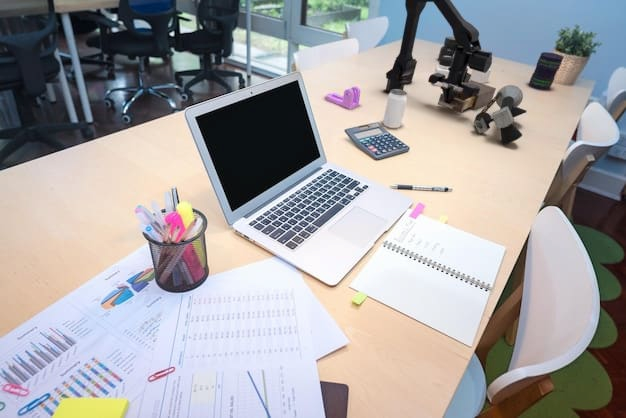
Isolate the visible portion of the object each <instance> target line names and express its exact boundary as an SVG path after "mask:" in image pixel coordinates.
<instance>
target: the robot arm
mask: <svg viewBox="0 0 626 418" xmlns="http://www.w3.org/2000/svg"><path fill="white" fill-rule="evenodd" d="M427 3H433V4H434V5H435V6H436V8H437V9H438V11H439V12H440V13H441V15H442V16H443V18H444V19H445V21H446V22H447V24H448V25H449V26H450V28H451V30H452V35H453V36H452V37H454V38H455V40H456V42H457V44H455V45H454V46H453V47H451V48H450V50H453V51H455V53H454V57H453V60H452V64H451V67H449V68H448V70H449V74H448V78H446V77H445V75H443V74H440V73H435V74H434V73H432V74H430V75H429V77H428V80H427V82H428V83H431V84H432V85H433V84H435V83H437V82H441V83H443V84H442V86H439V87H440V89H441V90H442V93H443V94H444V99H445V103H448V104H450V103H451V102H452V101H453V99H454V98H455V97H456V95H457V94H458V93H461V92H463V94H465V95H467V96H474V95H477V94H479V91H480V88H479V86H477V85H474V84H468V85H464V84H462V83H465V82H466V83H468V82H469V81H470V78H471V73H469V72H468V71H469V69H470V70H472V69H473V70H476V71H480V72H483V73H486V72H487V71H488V70H489V69H490V68H491V66H492V64H493V52H491V51H486V50H482V46H481V42H480V38H479V37H480V32H479V30H478V28H476V27H475V26H474V25H473V24H472V23H470V22H469V21H467V20H466V19H464V17H463V16H462V15H461V13H460V12H459V10H458V9H457V7H456V6H455V5H454V3H453V1H452V0H405V3H404V6H405V10H406V17H405V23H404V29H403V34H402V39H401V44H400V50H399V52H398V55H397V56H396V57H397V58H396V57H395V59H394V62H393V66H392V68H391V69H389V70H388V71H387V72H386V73H385V78H386V79H387V81H386V87H385V89H383V92H384V93H387V94H389V93H390V91H391V90H393V89H399V90H403V91H404V89H405V84H404V80H405V79H403V78H407V76H408V75H409V74H410V73H412V71H413V69H415V70H416V68H414V65H415V62H416V61H417V58H414V56H413V51H414V46H415V41H416V36H417V32H418V31H417V30H418V26H419V22H420V18H421V17H420V16H421V14H422V12H423V11H424V9H425V8H426V5H427ZM468 67H469V68H468ZM453 88H454V89H453Z"/></svg>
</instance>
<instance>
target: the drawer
mask: <svg viewBox="0 0 626 418" xmlns="http://www.w3.org/2000/svg"><path fill="white" fill-rule="evenodd" d="M475 100H476V96H467V95H465V94H463V92H461V93H458V94H457V95H456V97H455V98H454V99H453V101H452V102H451V103H450V104H448V103H445V99H444V94H443V92H442V93H440V95H439V99H438V102H437V105H439V106H442V107H444V108H446V109H449V110H452V111H455V112H457V113H460V114H461V113H463V111H464V110H466V109H470V108H469V107H471V106H473V105H474V102H475Z"/></svg>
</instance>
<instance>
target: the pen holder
mask: <svg viewBox="0 0 626 418" xmlns="http://www.w3.org/2000/svg"><path fill="white" fill-rule="evenodd" d="M397 57H398V56H396V57H395V59H396V58H397ZM417 65H418V60H416V62H415V65H414V68H415V69H413V71H412V73H410V74H409V75H408V76H407V78H403V79H405V80H404V85H409V84H411V83H413V79H414V74H415V71H416V67H417Z"/></svg>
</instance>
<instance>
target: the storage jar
mask: <svg viewBox="0 0 626 418" xmlns="http://www.w3.org/2000/svg"><path fill="white" fill-rule="evenodd" d="M564 58H565V57H564V56H563V55H561V54H559V53H555V52H546V51H545V52H541V53H540V56H539V57H538V60H537V62H536V67H535V68H534V71H533V73H532V75H531V76H530V79H529V82H528V87H530V88H531V89H535V90H537V91H550V89H551V87H552V85H553V83H554V80H555V77H556V75H557V72H558V71H559V69H560V67H561V65H562V62H563V60H564Z"/></svg>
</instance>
